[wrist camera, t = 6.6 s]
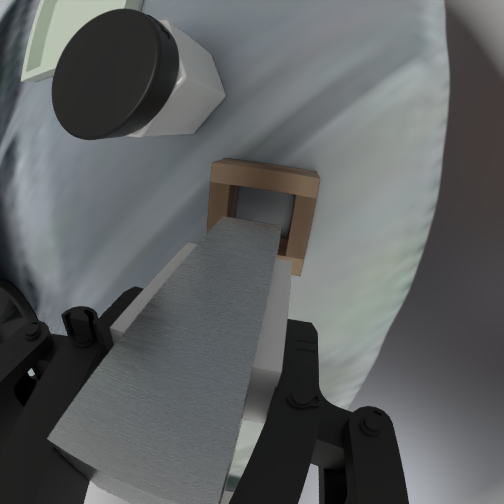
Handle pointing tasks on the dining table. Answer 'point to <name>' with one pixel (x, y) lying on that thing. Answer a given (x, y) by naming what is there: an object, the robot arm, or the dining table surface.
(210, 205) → the wooden square frame
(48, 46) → the tray
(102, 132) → the jar
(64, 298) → the dining table surface
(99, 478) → the gray rectangular bar
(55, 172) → the dining table surface
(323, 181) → the dining table surface
